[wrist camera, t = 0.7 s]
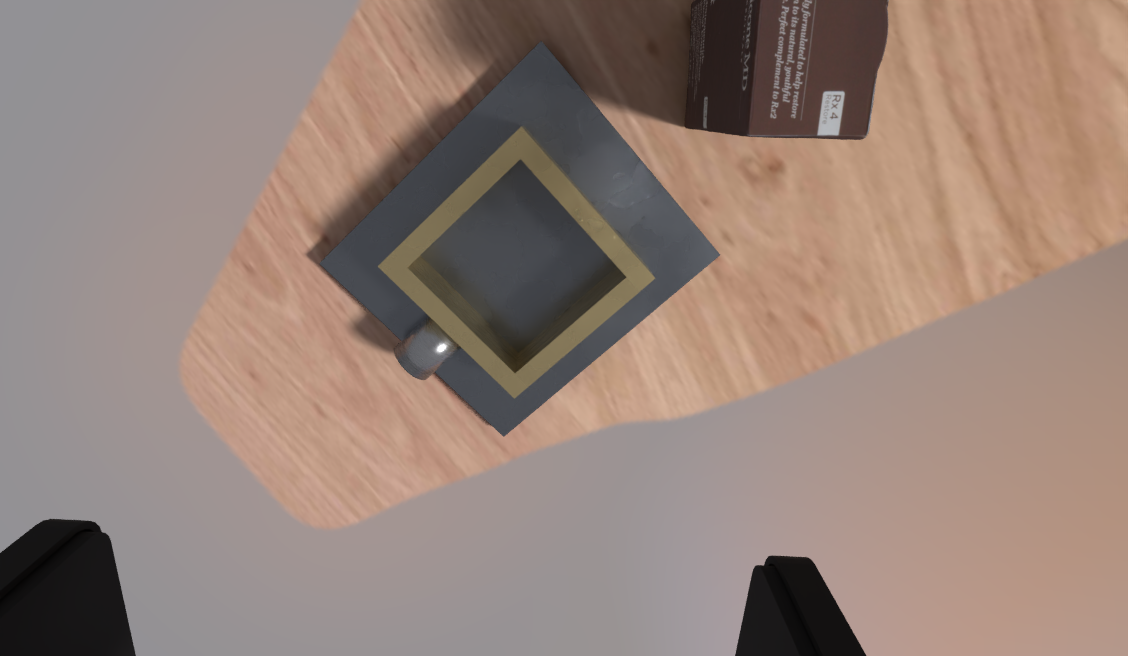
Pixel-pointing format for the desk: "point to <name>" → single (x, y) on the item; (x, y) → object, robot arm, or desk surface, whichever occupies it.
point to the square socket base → (520, 246)
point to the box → (785, 67)
